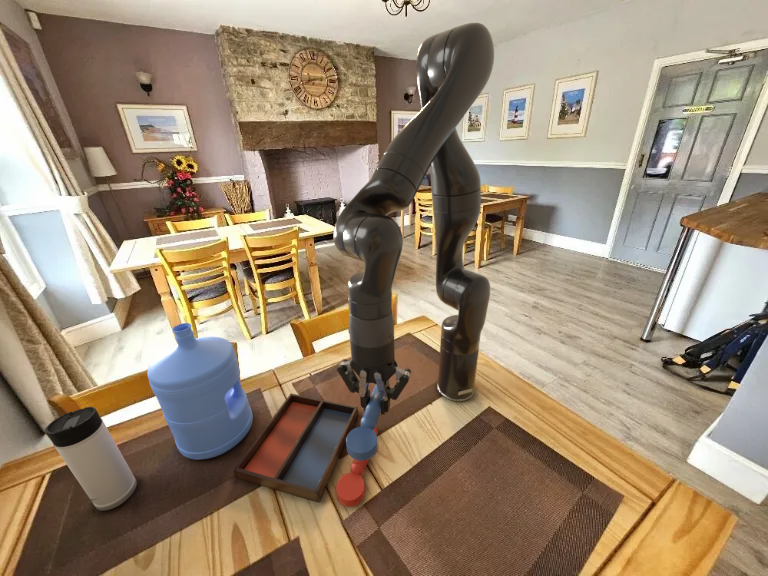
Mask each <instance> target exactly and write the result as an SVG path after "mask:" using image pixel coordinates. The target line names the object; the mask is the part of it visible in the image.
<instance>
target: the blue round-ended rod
mask: <svg viewBox="0 0 768 576" xmlns="http://www.w3.org/2000/svg"><path fill="white" fill-rule="evenodd" d="M380 400H381V396H380V392H379V391H378V388H377V384H374V387H373V389H372V392H371V394H370V400H369V402H368V405H367V407H366V409H365V411H363V414H362V417H361V419H360V426H357V427H355V428H352V430H351V431H350V433H349V434H348V436H347V438H346V443H345V446H346V452H347V454H348V456H349V457H350V458H351V459H353V460H354V459H355V460H359V461H364V460H367V459H368V460H370V459H371V458H373V457H374V456H375V455H376V453H377V451H378V448H379V444H378V434H377V435H376V433H375V431H374V429H375V427H376V428H377V425H378V422H379V419H380V416H381V404H380Z"/></svg>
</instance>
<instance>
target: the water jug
mask: <svg viewBox="0 0 768 576" xmlns="http://www.w3.org/2000/svg"><path fill="white" fill-rule="evenodd" d="M171 332H172V333H173V334H174V339H175V341H176V343H177V344H175V345H173V346H171V347H169V348H168V349H166V350H164V351H162V352H161V353H160V354H159V355H157V356H156V357H155V358H154V359H153V361H151V363H150V364H149V365H148V368H147V371H146V373H147V375H146V376H147V379H148V383H149V386H150V388H151V390H152V393H153V394H154V395H155V397H156V400H157V402H158V404H159V406H160V409H161V411H162V415H163V418H164V420H165V422H166V425H167V426H168V427H169V429H170V431H171V434H172V436H173V439H174V442H175V445H176V449H177V450H178V452H179V453H180V454H181V455H182V456H183V457H185V458H187V459H190V460H196V461H197V460H198V461H199V460H201V461H203V460H208V459H212V458H216V457H218V456H221V455H223V454H225V453H227V452H229V451H231V450H232V449H234V448H235V447H236V446H237V445H238V444H240V443H241V441H243V440H244V438H245V437H246V436H247V434H249V431H250V430H251V427H252V425H253V419H254V415H253V411H252V408H251V405H250V403H249V399H248V395H247V393H246V391H245V390H244V388H243V386H242V383H241V379H240V374H241V370H240V367H239V360H238V357H237V352H236V350H235V348H234V345H233V344H232V342H231V341H229V340H228V339H226V338H224V337H219V336H203V337H195V333H194V330H192V324H191V323H189V322H183V323H179V324H177V325H175V326H174V327H172V329H171Z"/></svg>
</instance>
